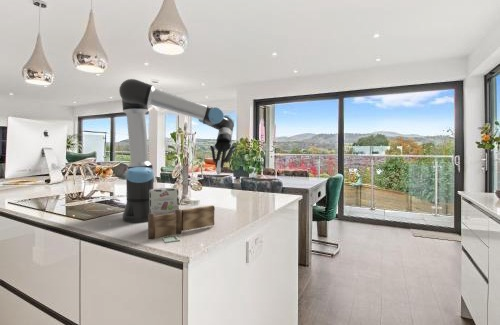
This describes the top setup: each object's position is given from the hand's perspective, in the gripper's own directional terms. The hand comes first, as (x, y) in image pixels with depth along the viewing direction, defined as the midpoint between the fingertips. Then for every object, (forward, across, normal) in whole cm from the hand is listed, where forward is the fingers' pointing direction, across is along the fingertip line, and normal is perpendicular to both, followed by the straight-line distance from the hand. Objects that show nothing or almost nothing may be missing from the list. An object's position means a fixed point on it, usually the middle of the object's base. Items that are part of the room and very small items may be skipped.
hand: (218, 172), depth 133 cm
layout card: (+39, +10, +10) cm, 42 cm away
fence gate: (+29, +4, 0) cm, 30 cm away
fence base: (+37, +13, +7) cm, 40 cm away
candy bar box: (+31, +18, 0) cm, 35 cm away
